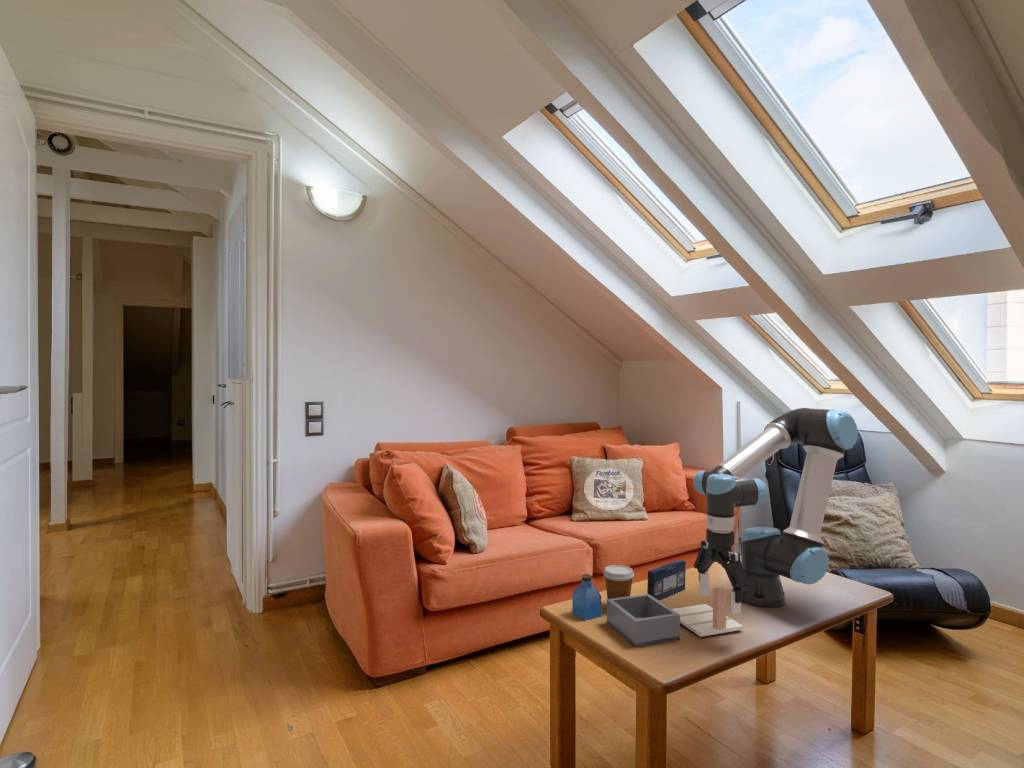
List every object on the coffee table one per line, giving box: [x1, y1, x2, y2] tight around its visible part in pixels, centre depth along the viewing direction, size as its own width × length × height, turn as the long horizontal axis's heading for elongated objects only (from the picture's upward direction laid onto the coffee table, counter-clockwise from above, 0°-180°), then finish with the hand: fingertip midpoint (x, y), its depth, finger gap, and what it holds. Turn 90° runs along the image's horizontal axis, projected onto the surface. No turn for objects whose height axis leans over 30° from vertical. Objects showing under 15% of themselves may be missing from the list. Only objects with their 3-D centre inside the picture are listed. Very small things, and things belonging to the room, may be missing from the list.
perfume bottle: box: [571, 573, 602, 622], centre depth 177 cm, size 6×6×12 cm
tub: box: [606, 593, 681, 648], centre depth 167 cm, size 14×16×7 cm
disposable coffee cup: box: [603, 564, 635, 600], centre depth 183 cm, size 10×10×12 cm
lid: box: [671, 586, 744, 638], centre depth 172 cm, size 15×17×13 cm
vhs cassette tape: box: [646, 559, 687, 601], centre depth 194 cm, size 18×3×10 cm, turn 129°
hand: (719, 604), depth 166 cm, fingers open, 13 cm apart
